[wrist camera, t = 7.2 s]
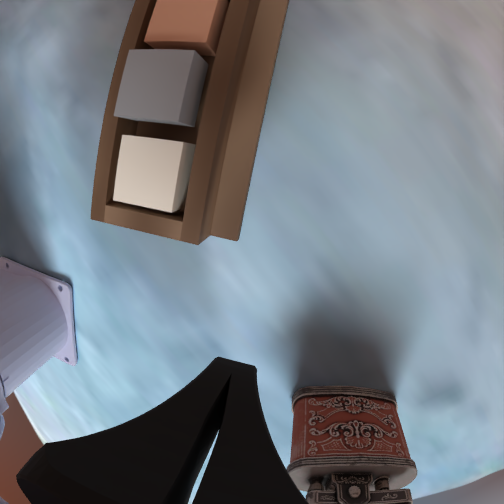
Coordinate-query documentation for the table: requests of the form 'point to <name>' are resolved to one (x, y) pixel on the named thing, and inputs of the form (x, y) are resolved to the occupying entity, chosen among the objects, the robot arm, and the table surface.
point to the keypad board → (200, 127)
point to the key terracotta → (187, 25)
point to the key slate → (161, 86)
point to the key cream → (153, 172)
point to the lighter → (349, 447)
